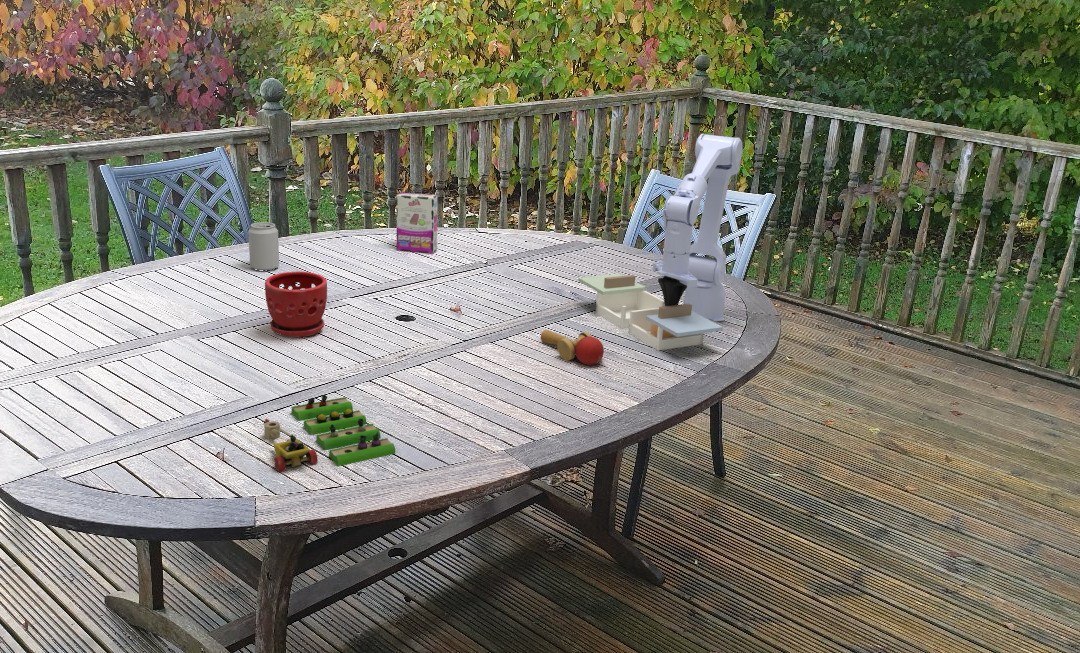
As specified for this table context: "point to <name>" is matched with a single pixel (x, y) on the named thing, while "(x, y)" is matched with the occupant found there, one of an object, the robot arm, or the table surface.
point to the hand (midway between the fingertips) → (670, 310)
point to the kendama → (576, 347)
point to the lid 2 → (682, 321)
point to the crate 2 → (643, 328)
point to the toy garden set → (329, 435)
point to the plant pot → (296, 303)
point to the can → (263, 246)
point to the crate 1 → (625, 305)
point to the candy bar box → (416, 222)
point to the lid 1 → (612, 283)
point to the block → (655, 329)
